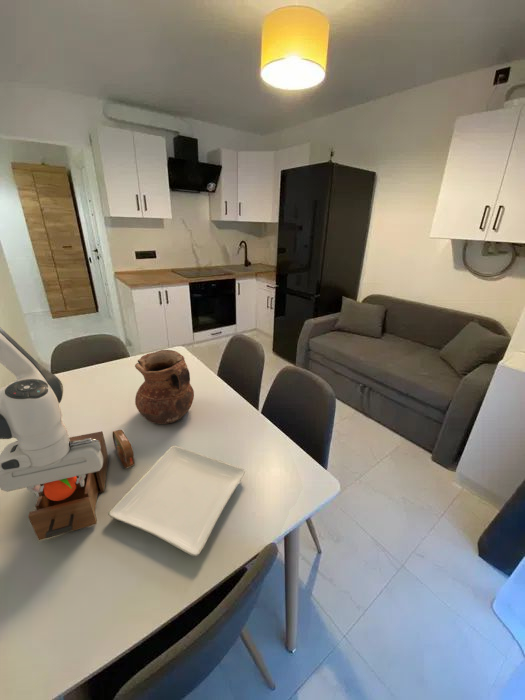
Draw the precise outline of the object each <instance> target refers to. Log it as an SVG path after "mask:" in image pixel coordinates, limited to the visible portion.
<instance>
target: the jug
mask: <svg viewBox="0 0 525 700" xmlns="http://www.w3.org/2000/svg"><path fill="white" fill-rule="evenodd" d="M134 368H135V369H136V370H137V371H138V372H139V373H140V374H141V375H142V376H143V379H144V381H143V382H142V384H141V385H140V386H139V388H138V389H137V391H136V394H135V399H134V403H135V404H134V405H135V407H136V409H137V411H138V413H139V414H140V415H141V416H142V418H144V419H145V420H146V421H148V422H150V423H153V424H159V425H166V424H172V423H175V422H177V421H179V420H181V418H182V417H183V416H185V415H186V414H187V412H188V411H189V410H190V409H191V407H192V405H193V402H194V399H195V391H194V388H193V386H192V384H191V376H190V375H191V373H190V370H189V368H188V365H187V363H186V360H185V356H184V355H182V354H181V353H179V352H178V351H176V350H173V349H160V350H157V351H155V352H154V351H153V352H149V353H146V354H143V355H142V356H141V357H140V358H139V359H137V362H136V364H135V365H134Z"/></svg>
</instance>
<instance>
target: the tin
mask: <svg viewBox="0 0 525 700" xmlns="http://www.w3.org/2000/svg"><path fill="white" fill-rule="evenodd" d="M111 435H112V441H113V446H114V450H115V452H116V454H117V456H118V458H119V460H120V462H121V463H122V466H123V467H124V468H125V469H128V468H131V467H132V466H135V464H136V463H135V453H134V449H133V446H132V444H131V442H130V440H129V438H128V437H127V435H126V433H125V432H124V431H123V430H122V429H117V430H114V431H113V430H112V434H111Z"/></svg>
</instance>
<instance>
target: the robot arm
mask: <svg viewBox="0 0 525 700" xmlns="http://www.w3.org/2000/svg"><path fill="white" fill-rule="evenodd" d="M0 364H1V365H2V366H3V367H5V368H6V369H7V370H8V371H9V372H10V373H11V374H13V375H14V377H15V378H16V379H15V380H14V381H12V382H10V383H8V384H6V385H4V386H1V387H0V440H11V439H16V440H15V441H13V442H11V443H8V444H7V445H6V446H5V447H4V448H3V449H2V451H1V452H0V490H1V491H4V492H6V493H9V492H14V491H17V490H22V489H26V490H27V491H29V492H31V493H34V494H35V496H36V498H38V497H41V496H45V494H44V486H40V484H44V483H48V482H53V481H57V480H62V479H66V478H70V477H75V476H79V478H77V479H76V483H75V484H76V487H77V488H79V487H83V486H84V478H85V477H86V474H88V473H92V472H97V471H100V469H101V468H102V466H103V455H102V452H101V450H100V449H101V445H100V442H99V441H98V440H96V439H92V438H87V439H84V440H76V441H71V442H70V439H69V438H70V436H69V431H68V428H67V426H66V425H65V423H64V422H63V412H62V408H61V406H60V403H61V402H62V399H63V396H64V384H63V382H62V381H61V379H60V378H58V377H57V376H56V374H54V373H52V372H51V371H50V370H48V369H47V368H45V367H44V366H43V365H41V364H40V363H39V362H38V361H37V360H36V359H35V358H34V357H33V356H32V355H31V354H30V353H28V351H26V350H25V348H23V347H22V346H21V345H20V344H19V343H18V342H17V341H16V340H15V339H14V338H12V337H11V335H10V334H8V333H7V332H6V331H5V330H4V329H3V328H2V327H0Z"/></svg>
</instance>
